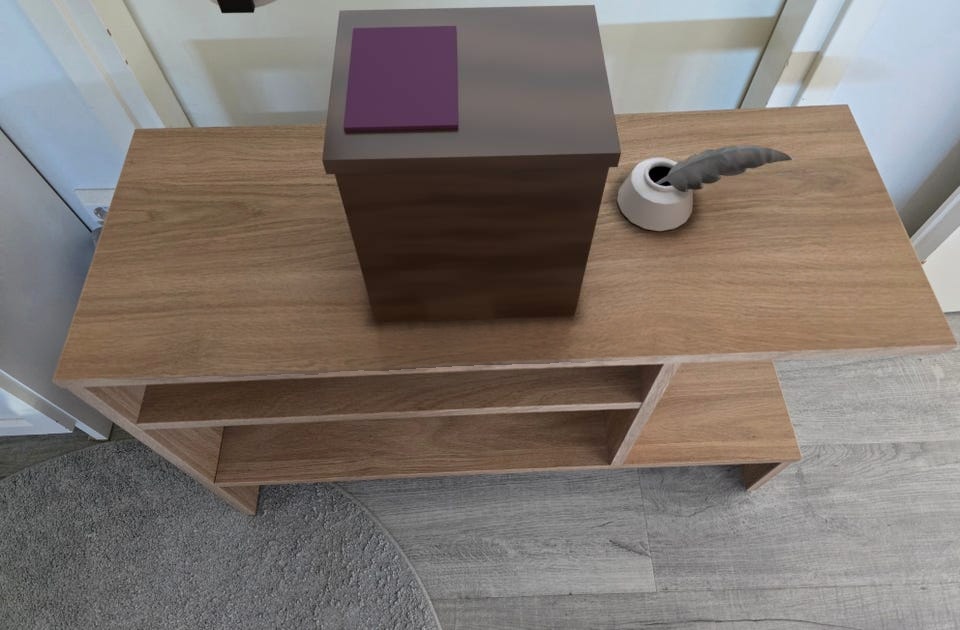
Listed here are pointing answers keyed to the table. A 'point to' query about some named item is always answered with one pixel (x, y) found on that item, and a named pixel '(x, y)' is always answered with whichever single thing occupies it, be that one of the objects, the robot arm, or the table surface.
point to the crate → (482, 169)
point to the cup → (258, 2)
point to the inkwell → (683, 183)
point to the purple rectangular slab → (402, 79)
